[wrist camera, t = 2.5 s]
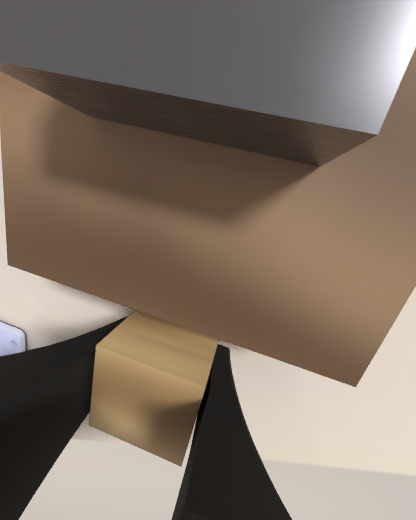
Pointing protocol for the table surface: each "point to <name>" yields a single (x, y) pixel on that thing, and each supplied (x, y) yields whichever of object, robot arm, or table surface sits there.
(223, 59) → the lid
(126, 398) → the wooden block
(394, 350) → the table surface
